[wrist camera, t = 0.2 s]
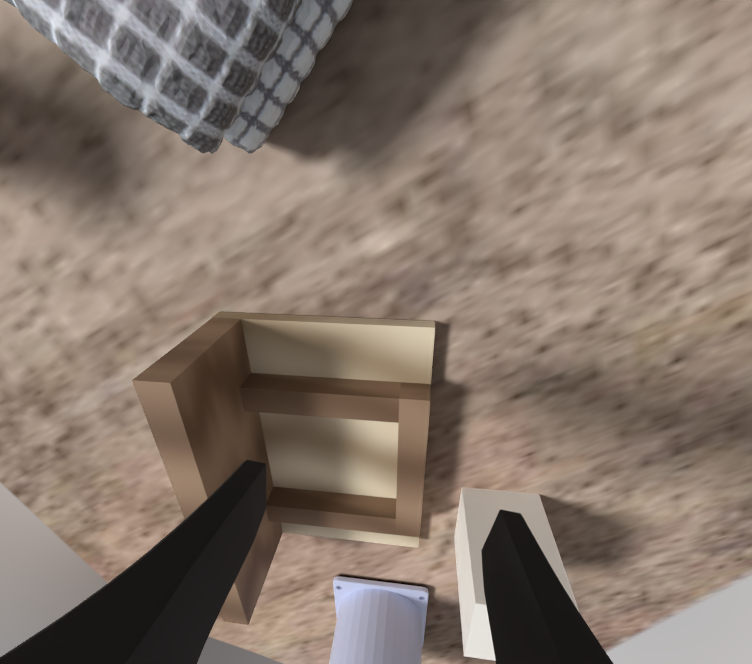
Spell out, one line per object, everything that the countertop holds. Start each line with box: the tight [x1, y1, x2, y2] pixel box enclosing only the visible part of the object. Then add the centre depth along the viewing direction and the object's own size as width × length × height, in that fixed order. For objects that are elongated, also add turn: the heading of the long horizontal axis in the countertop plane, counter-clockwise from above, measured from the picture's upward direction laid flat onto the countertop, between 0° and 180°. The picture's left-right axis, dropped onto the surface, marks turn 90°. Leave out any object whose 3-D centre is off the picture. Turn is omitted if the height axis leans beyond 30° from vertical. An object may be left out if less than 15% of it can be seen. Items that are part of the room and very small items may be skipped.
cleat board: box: [132, 312, 435, 625], centre depth 20 cm, size 18×12×7 cm, turn 0°
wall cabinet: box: [454, 487, 580, 661], centre depth 22 cm, size 6×6×7 cm
